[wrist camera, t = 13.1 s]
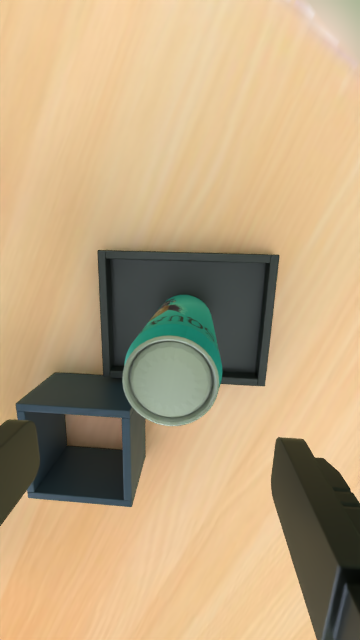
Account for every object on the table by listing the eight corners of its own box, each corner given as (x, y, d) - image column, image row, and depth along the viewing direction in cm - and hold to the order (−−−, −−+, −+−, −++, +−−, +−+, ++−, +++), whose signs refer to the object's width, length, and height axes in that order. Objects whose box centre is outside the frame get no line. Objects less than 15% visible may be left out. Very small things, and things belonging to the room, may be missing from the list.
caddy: (61, 450, 34) (27, 498, 27) (54, 372, 32) (14, 403, 25) (145, 456, 33) (131, 507, 27) (145, 377, 31) (129, 411, 24)
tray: (109, 369, 31) (103, 377, 29) (104, 250, 28) (97, 250, 26) (260, 378, 30) (264, 386, 28) (273, 255, 27) (279, 254, 25)
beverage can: (184, 281, 27) (168, 307, 13) (222, 319, 28) (248, 386, 13) (147, 318, 29) (94, 381, 14) (184, 354, 29) (170, 450, 15)
